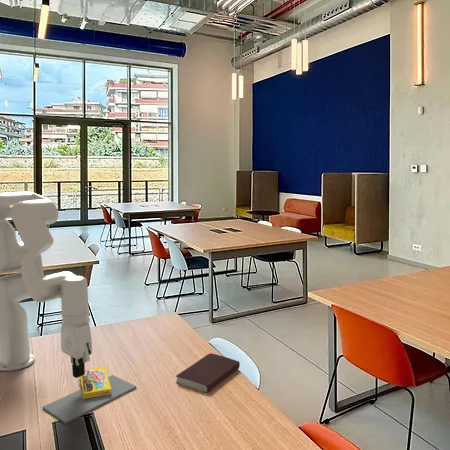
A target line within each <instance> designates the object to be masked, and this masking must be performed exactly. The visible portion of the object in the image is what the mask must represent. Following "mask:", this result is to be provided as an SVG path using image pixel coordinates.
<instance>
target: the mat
mask: <svg viewBox="0 0 450 450" xmlns="http://www.w3.org/2000/svg"><path fill="white" fill-rule="evenodd" d="M108 379H109V382H110V386H111V392H112V394H110V395H104V396H99V397H93V398H88V399H83V395H82V388H81V389H78V390H77V391H74V392H72V393H70V394H67V395H65V396H63V397H61V398H59V399H58V398H57V400H54V401H52V402H49V403H47V404H45V405H43V406H42V410H43V411H45V412H46V413H48V414H50V415H51V416H53V417H55V418H56V419H58V420H59V421H61V423H64V424H69V423H70V422H72V421H75V420H76V419H77V418H80V417H82V416H84V415H86V414H88V413H90V412H93V411H94V410H96V409H97V408H100V407H101V406H103V405H106V404H108V403H111V401H113V400H116V399H117V398H119V397H122V396H123V395H125V394H128V393H129V392H131V391H133V390H136V389H137V385H135V384H132V383H130V382H128V381H126V380H124V379H122V378H121V377H117V376H115V375H114V374H112V375H110V376H109V375H108Z"/></svg>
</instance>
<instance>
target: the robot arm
mask: <svg viewBox="0 0 450 450" xmlns="http://www.w3.org/2000/svg"><path fill="white" fill-rule="evenodd" d="M58 218H59V210H58V207H57V205H56V204H55V202H54V201H52V200H51V199H49V198H48V197H45V196H42V195H40V194H37V193H35V192H32V191H15V192H0V273H5V272H11V271H16V270H21V272H18V273H17V272H16V273H12V274H8V275H4V276H1V277H0V371H2V372H12V371H14V372H15V371H18V370H22V369H24V368H26V367H29V366H31V365H32V364H34V363H35V361H36V356H35V355H34V354H33V353H31V352H30V341H29V340H30V338H29V327H28V315H27V311H26V309H25V308H24V307H23V306H22V305H21V304H20V302H22V301H24V300H28V299H32V300H33V301H35V302H36V303H45V302H48V301H53V300H56V299H59V298H60V299H61V300H60V301H61V303H60V304H61V318H62V322H61V326H60V327H61V330H60V348H61V352H62V353H63V354H66V355H67V356H69V357H70V363H71V367H72V368H71V370H72V371H71V372H72V377H73V378H75V379H78V378H80V376H83V375H85V370H86V368H85V364H86V363H87V362H90V360H91V359H90V355H92V353H93V342H92V341H93V340H92V333H91V327H90V311H89V292H88V291H89V289H88V280H87V278H86V277H84V276H82V275H77V274H75V273H74V272H72V271H64V270H63V271H60V272H55V273H52V274H47V275H45V274H44V267H43V260H42V259H43V258H42V254H43V253H44V252H46V251H48V249H50V248H51V247H52V246H53V244H54V242H55V241H54V237H53V235H52V233H51V231H50V229H49V227H48V225H53V224H54V223H56V222H57V221H58ZM8 219H11V220H12V221H13V225H14V226H15V227H14V226H13V225H12V224H11V223H10V222H9V220H8ZM15 228H16V229H15ZM16 230H17V233H18V235H19V238H20V240H21V241H17V240H18V239H17V234H16Z"/></svg>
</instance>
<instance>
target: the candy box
mask: <svg viewBox="0 0 450 450" xmlns="http://www.w3.org/2000/svg"><path fill="white" fill-rule="evenodd" d="M108 377H109V374H108V371H107V367H106V366H99V367H94V368H93V367H92V368H87V369H86V368H85V375H83V376H80V377H79V379H80V384H81V389H82V395H83V399H88V398H93V397H99V396H104V395H110V394H112V392H111V386H110V382H109V379H108Z"/></svg>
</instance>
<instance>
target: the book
mask: <svg viewBox="0 0 450 450" xmlns="http://www.w3.org/2000/svg"><path fill="white" fill-rule="evenodd" d="M239 369H240V361H239V360H236V359H233V358H230V357H226V356H223V355H219V354H216V353H212V352H210V353H208V354H207V355H205V356H204V357H202V358H200V359H199V360H198V361H196V362H194V363H193V364H192V365H190V366H188V367H187V368H185V369H184V370H182V371H181V372H179V373H178V374H177V375H175V377H176V382H175V384H178V385H182V386H185V387H188V388H192V389H195V390H198V391H202V392H205V393H209V392H210V391H211V390H213V389H214V388H216V387H217V386H218V385H219V384H221V383H222V382H223V381H225V380H226V379H227V378H228V377H230V375H232V374H234V373H235V372H236V371H238V370H239Z"/></svg>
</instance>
